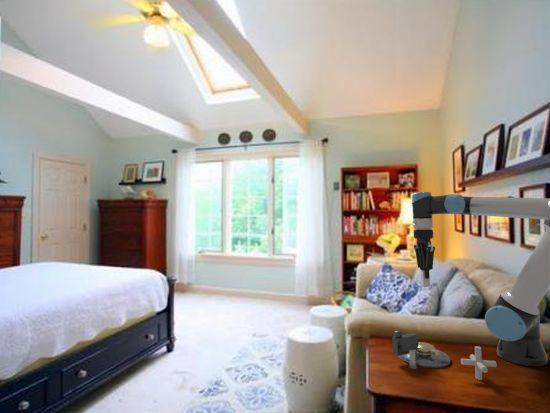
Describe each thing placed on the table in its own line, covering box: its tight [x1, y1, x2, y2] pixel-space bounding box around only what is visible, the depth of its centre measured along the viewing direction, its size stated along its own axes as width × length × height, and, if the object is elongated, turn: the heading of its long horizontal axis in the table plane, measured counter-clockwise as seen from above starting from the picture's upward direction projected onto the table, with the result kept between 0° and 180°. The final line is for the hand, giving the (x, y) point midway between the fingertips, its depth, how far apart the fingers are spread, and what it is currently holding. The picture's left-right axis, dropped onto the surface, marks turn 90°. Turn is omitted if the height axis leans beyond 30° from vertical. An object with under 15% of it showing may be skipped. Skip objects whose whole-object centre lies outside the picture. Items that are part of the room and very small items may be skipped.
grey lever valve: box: [391, 329, 440, 357], centre depth 124 cm, size 18×13×8 cm
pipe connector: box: [460, 345, 498, 381], centre depth 108 cm, size 10×10×10 cm
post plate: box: [397, 348, 451, 370], centre depth 125 cm, size 18×21×6 cm
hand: (425, 286), depth 138 cm, fingers closed
